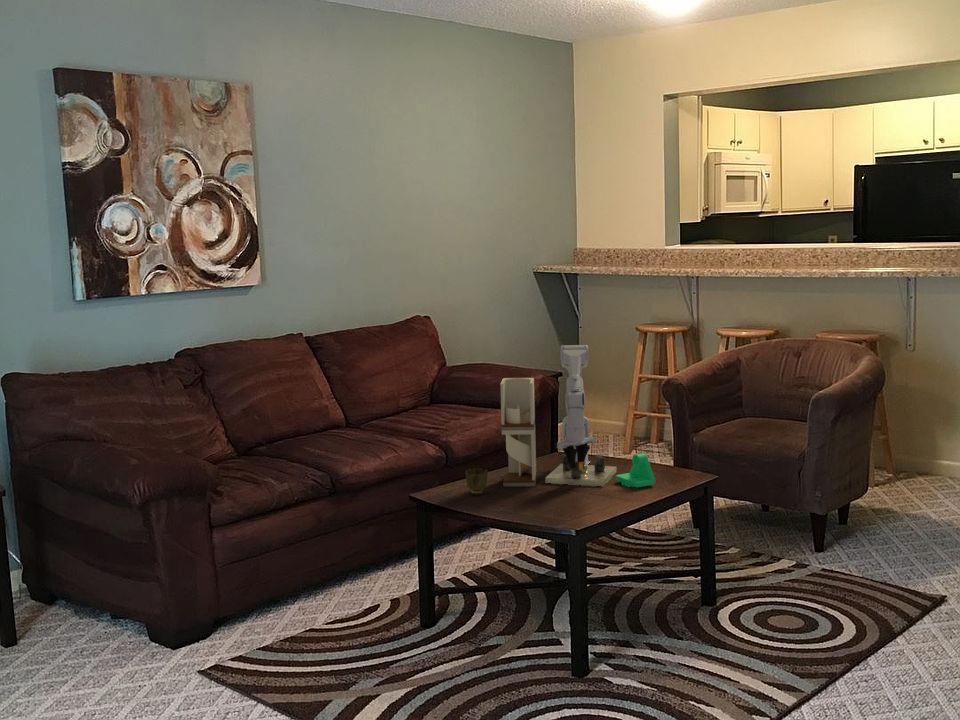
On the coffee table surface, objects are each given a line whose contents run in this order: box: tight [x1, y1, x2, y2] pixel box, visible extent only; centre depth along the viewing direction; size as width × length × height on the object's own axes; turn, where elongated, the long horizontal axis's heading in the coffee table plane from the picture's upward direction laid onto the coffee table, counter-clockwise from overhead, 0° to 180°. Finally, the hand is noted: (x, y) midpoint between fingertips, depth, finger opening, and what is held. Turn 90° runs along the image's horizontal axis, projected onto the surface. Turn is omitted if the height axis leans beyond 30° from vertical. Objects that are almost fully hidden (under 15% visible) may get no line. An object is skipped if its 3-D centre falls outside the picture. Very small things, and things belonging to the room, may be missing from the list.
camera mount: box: [615, 452, 656, 488], centre depth 354 cm, size 12×8×10 cm, turn 29°
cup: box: [464, 467, 489, 496], centre depth 348 cm, size 8×7×8 cm
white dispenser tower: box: [499, 377, 537, 487], centre depth 360 cm, size 11×11×35 cm
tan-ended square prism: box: [568, 461, 585, 478], centre depth 358 cm, size 5×4×5 cm
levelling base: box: [544, 454, 618, 488], centre depth 365 cm, size 20×20×7 cm
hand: (576, 466), depth 358 cm, fingers closed on tan-ended square prism, 3 cm apart
